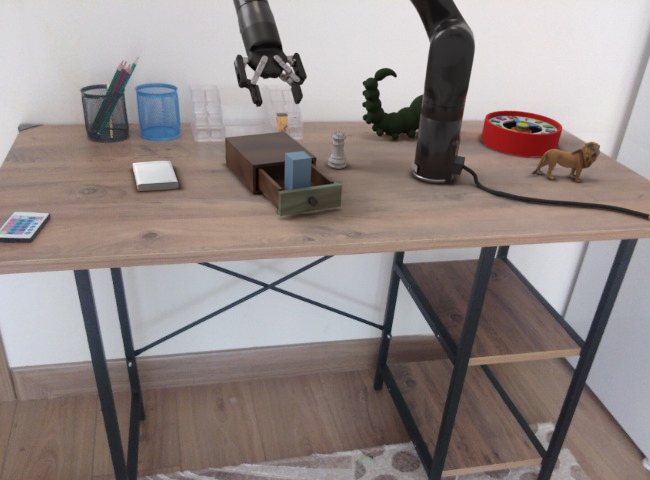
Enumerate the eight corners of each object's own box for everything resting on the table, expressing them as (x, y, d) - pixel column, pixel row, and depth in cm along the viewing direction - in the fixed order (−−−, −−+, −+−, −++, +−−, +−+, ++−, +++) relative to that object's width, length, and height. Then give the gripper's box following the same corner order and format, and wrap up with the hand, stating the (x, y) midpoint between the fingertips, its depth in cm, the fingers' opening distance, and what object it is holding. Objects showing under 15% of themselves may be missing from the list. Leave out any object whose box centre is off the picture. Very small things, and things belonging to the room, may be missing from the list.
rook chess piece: (344, 170, 149) (346, 136, 145) (325, 168, 149) (327, 134, 145) (348, 163, 153) (350, 130, 148) (329, 161, 153) (331, 128, 149)
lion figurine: (587, 174, 156) (597, 138, 151) (595, 183, 152) (606, 146, 147) (527, 172, 155) (536, 135, 151) (534, 180, 151) (543, 143, 146)
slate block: (310, 195, 131) (311, 157, 127) (292, 198, 130) (293, 160, 125) (302, 187, 134) (303, 150, 130) (284, 190, 133) (285, 153, 128)
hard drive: (178, 181, 134) (170, 159, 144) (137, 184, 131) (131, 162, 141) (178, 188, 135) (170, 166, 144) (138, 192, 132) (132, 169, 142)
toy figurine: (369, 150, 166) (459, 139, 171) (369, 75, 156) (465, 65, 160) (359, 137, 174) (445, 127, 179) (358, 65, 163) (450, 56, 168)
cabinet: (315, 185, 141) (316, 157, 137) (253, 194, 135) (252, 165, 131) (283, 157, 153) (284, 131, 150) (225, 164, 147) (224, 137, 144)
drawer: (343, 208, 129) (345, 187, 127) (282, 218, 124) (283, 196, 121) (306, 176, 142) (307, 156, 140) (250, 184, 137) (250, 163, 134)
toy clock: (500, 134, 160) (475, 109, 176) (495, 156, 163) (471, 130, 180) (575, 135, 163) (544, 111, 179) (569, 157, 166) (539, 131, 183)
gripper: (230, 20, 126) (251, 96, 124) (296, 19, 132) (317, 92, 130) (221, 42, 133) (241, 115, 131) (285, 41, 139) (305, 110, 137)
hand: (279, 103), depth 130 cm, fingers open, 8 cm apart
